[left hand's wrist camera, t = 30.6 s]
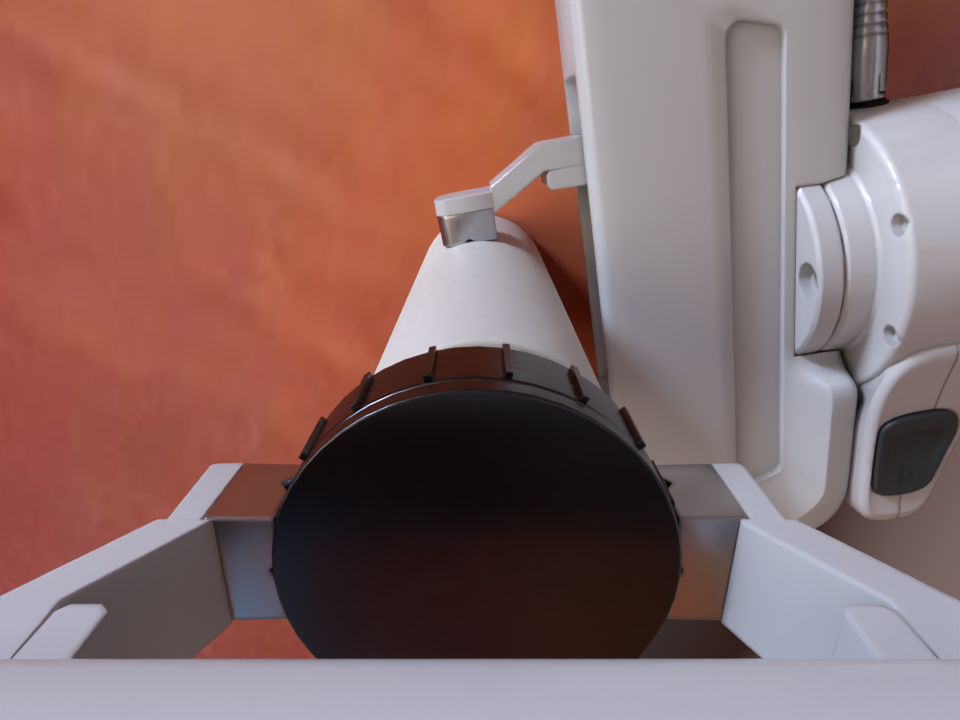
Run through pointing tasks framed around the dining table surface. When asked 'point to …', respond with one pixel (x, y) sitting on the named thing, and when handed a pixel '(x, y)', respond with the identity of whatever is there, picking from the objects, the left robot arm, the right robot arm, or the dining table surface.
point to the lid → (476, 518)
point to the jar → (486, 303)
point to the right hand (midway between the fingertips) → (457, 316)
